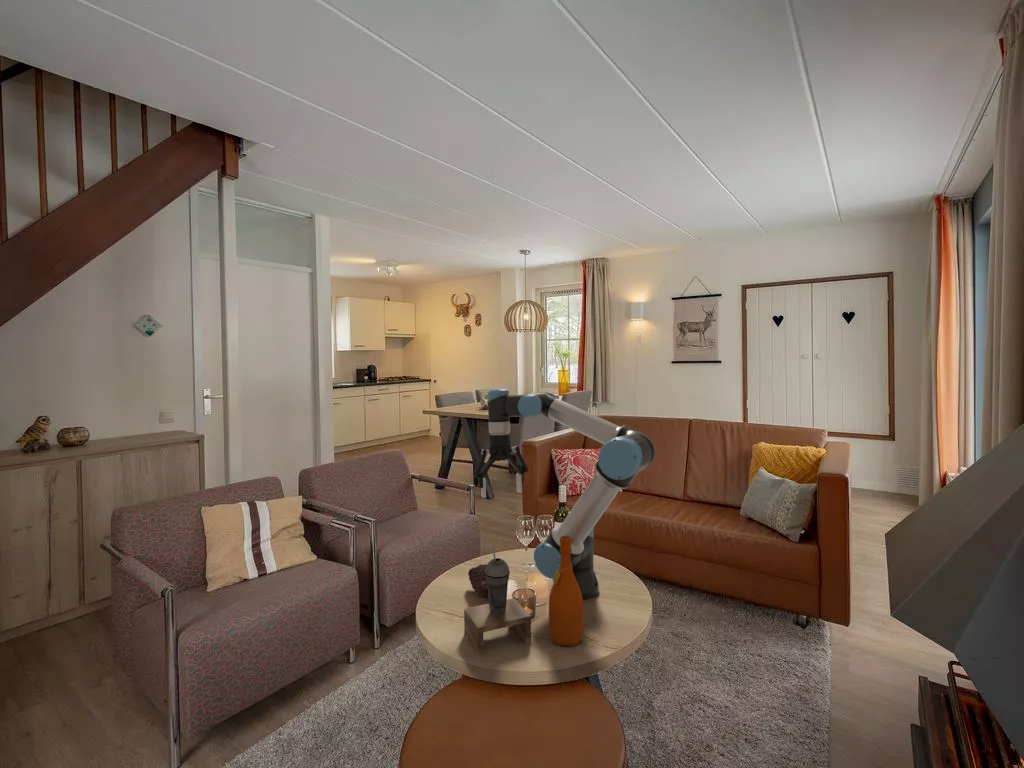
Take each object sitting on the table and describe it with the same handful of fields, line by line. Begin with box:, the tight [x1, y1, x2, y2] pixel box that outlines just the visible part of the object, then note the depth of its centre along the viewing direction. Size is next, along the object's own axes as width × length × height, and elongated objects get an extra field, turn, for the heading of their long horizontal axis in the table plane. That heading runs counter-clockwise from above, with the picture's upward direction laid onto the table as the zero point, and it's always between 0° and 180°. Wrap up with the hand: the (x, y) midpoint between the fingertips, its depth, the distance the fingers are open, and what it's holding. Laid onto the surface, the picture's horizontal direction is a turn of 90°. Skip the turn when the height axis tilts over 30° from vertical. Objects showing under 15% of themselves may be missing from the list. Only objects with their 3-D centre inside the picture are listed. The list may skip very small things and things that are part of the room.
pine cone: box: [467, 563, 488, 597], centre depth 176 cm, size 18×10×10 cm, turn 37°
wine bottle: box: [548, 536, 584, 647], centre depth 147 cm, size 10×10×30 cm
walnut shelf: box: [463, 598, 532, 655], centre depth 148 cm, size 16×12×8 cm
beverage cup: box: [485, 543, 511, 616], centre depth 148 cm, size 7×7×20 cm
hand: (501, 494), depth 178 cm, fingers open, 13 cm apart
